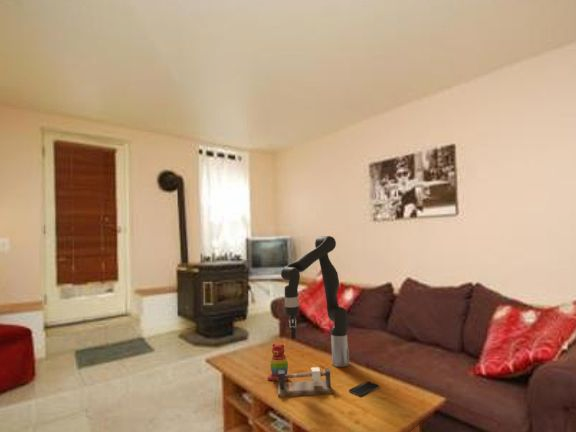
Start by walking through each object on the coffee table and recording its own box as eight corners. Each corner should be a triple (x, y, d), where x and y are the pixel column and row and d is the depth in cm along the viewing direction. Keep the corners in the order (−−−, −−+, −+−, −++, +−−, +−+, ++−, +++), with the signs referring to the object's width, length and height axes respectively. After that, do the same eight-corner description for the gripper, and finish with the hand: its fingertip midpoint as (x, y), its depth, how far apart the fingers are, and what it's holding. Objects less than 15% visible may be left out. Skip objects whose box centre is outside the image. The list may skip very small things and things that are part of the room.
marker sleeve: (319, 377, 176) (318, 367, 176) (320, 381, 171) (320, 371, 171) (311, 377, 176) (310, 367, 176) (312, 381, 171) (312, 371, 171)
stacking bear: (266, 380, 186) (264, 346, 187) (274, 373, 195) (273, 340, 196) (284, 383, 181) (282, 348, 182) (292, 375, 190) (290, 342, 191)
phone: (347, 390, 168) (367, 380, 178) (348, 392, 168) (367, 383, 178) (360, 395, 162) (380, 385, 172) (360, 398, 162) (380, 387, 172)
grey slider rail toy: (328, 382, 179) (327, 364, 180) (332, 393, 167) (331, 373, 168) (277, 386, 178) (277, 367, 178) (278, 397, 166) (277, 377, 166)
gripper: (299, 307, 178) (301, 339, 178) (298, 302, 193) (299, 331, 192) (284, 308, 178) (286, 340, 177) (284, 302, 192) (286, 332, 192)
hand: (293, 336), depth 185 cm, fingers open, 8 cm apart
